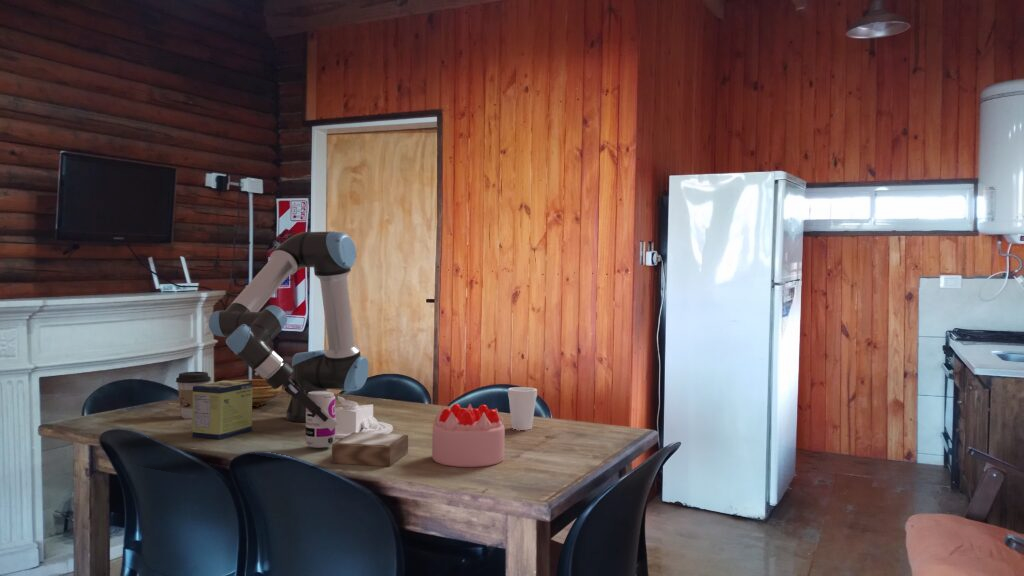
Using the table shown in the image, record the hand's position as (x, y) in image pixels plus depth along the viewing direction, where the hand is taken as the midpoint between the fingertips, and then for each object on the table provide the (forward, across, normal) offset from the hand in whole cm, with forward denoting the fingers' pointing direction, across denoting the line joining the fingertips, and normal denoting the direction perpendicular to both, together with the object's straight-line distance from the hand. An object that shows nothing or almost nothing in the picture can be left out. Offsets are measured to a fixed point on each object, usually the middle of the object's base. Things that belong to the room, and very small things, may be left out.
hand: (332, 424), depth 226 cm
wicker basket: (-9, -82, -19) cm, 85 cm away
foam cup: (+49, -10, +39) cm, 64 cm away
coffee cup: (-22, -61, -32) cm, 72 cm away
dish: (+12, -22, +2) cm, 26 cm away
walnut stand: (+10, +16, +1) cm, 19 cm away
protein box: (-16, -29, -26) cm, 42 cm away
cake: (+28, +25, +19) cm, 42 cm away
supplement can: (+2, 0, -6) cm, 7 cm away
